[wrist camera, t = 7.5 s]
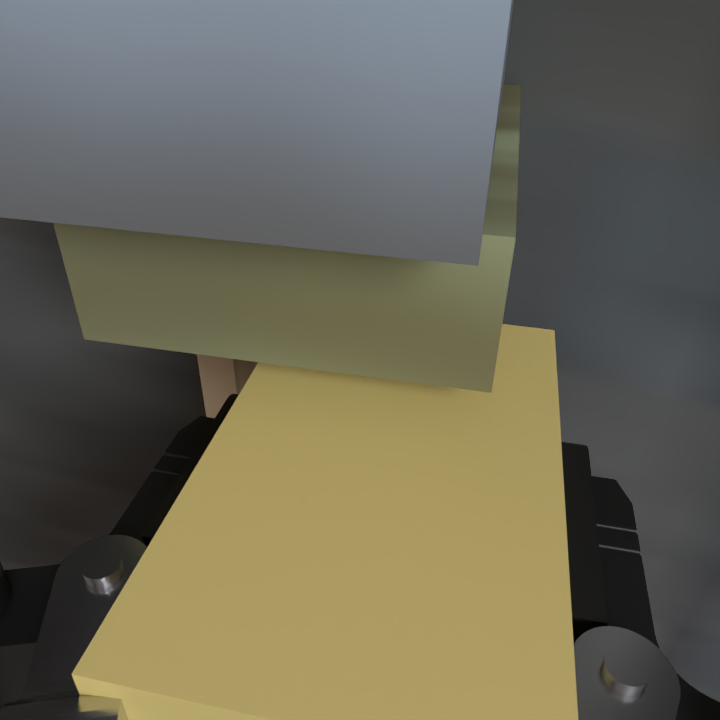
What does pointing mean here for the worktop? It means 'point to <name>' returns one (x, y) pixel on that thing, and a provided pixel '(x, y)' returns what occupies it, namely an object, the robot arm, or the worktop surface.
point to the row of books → (272, 178)
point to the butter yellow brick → (359, 557)
